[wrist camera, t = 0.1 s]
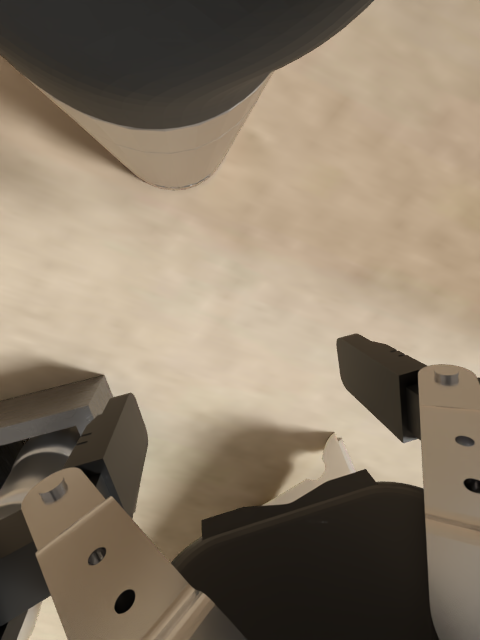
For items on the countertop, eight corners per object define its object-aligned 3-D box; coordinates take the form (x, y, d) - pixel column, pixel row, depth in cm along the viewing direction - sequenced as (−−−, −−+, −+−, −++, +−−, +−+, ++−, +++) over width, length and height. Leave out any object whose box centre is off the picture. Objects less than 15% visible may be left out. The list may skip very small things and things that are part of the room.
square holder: (-18, 405, 27) (-59, 443, 23) (104, 375, 28) (88, 405, 24) (37, 499, 31) (11, 548, 27) (142, 470, 33) (134, 512, 28)
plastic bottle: (115, 454, 31) (8, 800, 13) (50, 475, 31) (-162, 868, 12) (89, 404, 29) (-85, 733, 10) (19, 425, 29) (-299, 812, 10)
